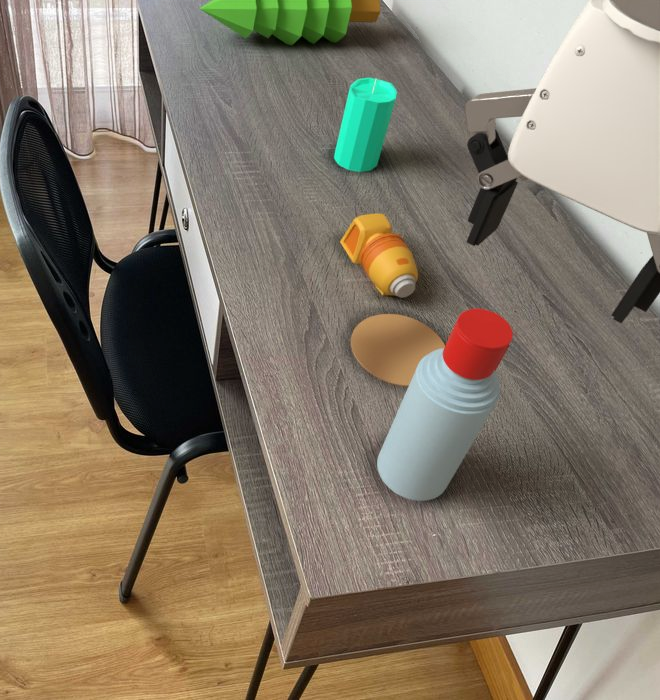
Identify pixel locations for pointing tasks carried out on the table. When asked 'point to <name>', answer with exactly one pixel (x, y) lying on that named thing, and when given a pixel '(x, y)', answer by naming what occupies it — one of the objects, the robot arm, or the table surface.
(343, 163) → the candle
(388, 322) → the coaster
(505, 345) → the cap
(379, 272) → the yellow plastic toy
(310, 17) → the decorative tree
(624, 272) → the table surface
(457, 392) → the bottle
